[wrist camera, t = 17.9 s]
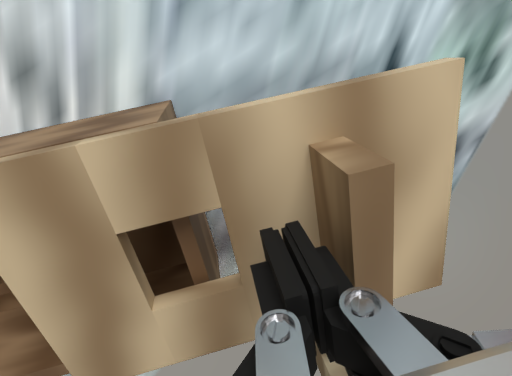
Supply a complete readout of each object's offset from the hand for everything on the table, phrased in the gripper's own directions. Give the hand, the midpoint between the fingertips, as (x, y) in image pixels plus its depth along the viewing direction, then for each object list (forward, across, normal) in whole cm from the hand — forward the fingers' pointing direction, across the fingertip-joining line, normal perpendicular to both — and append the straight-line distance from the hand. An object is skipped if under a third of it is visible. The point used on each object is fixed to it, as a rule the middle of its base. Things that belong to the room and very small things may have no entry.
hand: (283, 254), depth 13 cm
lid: (+2, +1, 0) cm, 3 cm away
